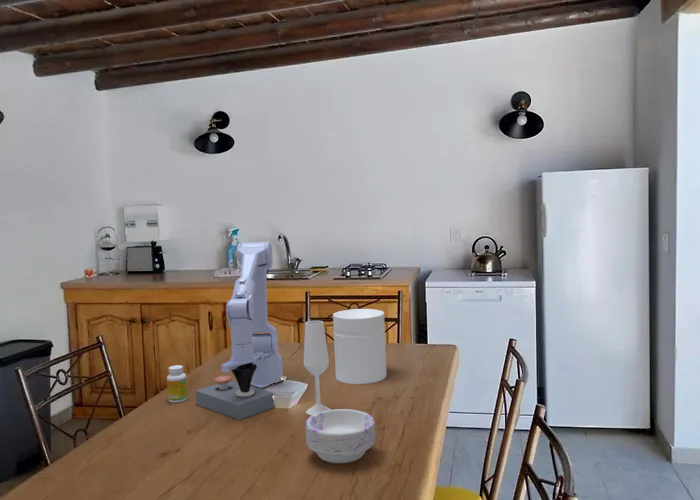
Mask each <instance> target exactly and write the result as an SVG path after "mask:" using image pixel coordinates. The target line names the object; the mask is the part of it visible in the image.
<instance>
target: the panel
mask: <svg viewBox="0 0 700 500" xmlns="http://www.w3.org/2000/svg"><path fill="white" fill-rule="evenodd" d="M228 383H229V390H225V391H219V385H218V383H216V384H213V385H210V386H206V387H203V388H200V389H197V390H195V400H196V401H195V402H196V403H195V404H196V405H197V406H200V407H201V408H204V409H208V410H211V411H212V412H213V411H214V412H216V413H219V414H220V415H225V416H227V417H231V418H232V419H235V420H238V421H240V420H243V419H246V418H248V417H251V416H254V415H255V416H256V415H257V414H259V413H263V412H265V411H268V410H271V409H274V408H275V407H276V404H275V405H274V400H273V398H272V396H273V394H274V395H275V392H272V391H270V392H269V390H266V391H265V389H264V388H259V387H256V386H253V385H251V386H250V389H253V390H254V395H252V396H250V397H247V398H240V397H238V396H236V391H238V390H240V387H239V384H238V382H237V380H236V381H235V380H232V381H230V382H228Z"/></svg>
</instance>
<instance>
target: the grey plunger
mask: <svg viewBox="0 0 700 500" xmlns="http://www.w3.org/2000/svg"><path fill="white" fill-rule="evenodd" d="M252 395H254V390H253V389H250V391H249V392H241V390H238V391H236V396H238V397H240V398H247V397H250V396H252Z"/></svg>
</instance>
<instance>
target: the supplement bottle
mask: <svg viewBox="0 0 700 500" xmlns="http://www.w3.org/2000/svg"><path fill="white" fill-rule="evenodd" d="M168 373H169V374H168V375H167V376H166V384H167V385H166V387H167V396H168V397H167V398H168V402H170V403H176V404H177V403H181V402H184V401H186V400H188V384H187V383H188V381H187V375H186V373H185V372H184V366H183V365H180V364H177V365H171V366H169V367H168Z"/></svg>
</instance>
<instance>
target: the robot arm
mask: <svg viewBox="0 0 700 500" xmlns="http://www.w3.org/2000/svg"><path fill="white" fill-rule="evenodd" d="M272 247H273V246H272V243H271V242H270V241H259V242H258V241H257V242H241V241H239V243H238V244H237V246H236V259H237V262H239V263H238V264H239V265H241V267H240V275H239V276H240V277H239V278H237V279H236V280H235V282H234V287H233V291H232V294H231V299H230V300H227V302H226V317H227V320H228V321H227V322H228V326H229V329H230V341H231V342H230V343H231V357H230V359H229V360H228V361H226V362H224V363H222V364H221V369H220V370H221V373H222V372H223V373H229V372H230V371H231V373H232V374H233V376H234V377H235V379H236V382H238V384H239V387H240V390H241V392H249V391H250V386H253V387H256V388H259V389H264V388H266V387H269V386H271V385H270V384H272V383H274V382H276V381H277V380H279V379H280V377H282V376H283V377H284V374H283V371H284V370H283V360H282V356H281V355H280V354H279V352H278V349H279V337H278V329H277V328H276V327H275V326H274V325H273V324H271V323H269V321H268V318H269V317H268V297H267V296H268V295H267V294H268V292H267V291H268V290H267V286H268V285H267V272H268V270H269V269H272V267H273V262H274V261H273V248H272ZM268 385H269V386H268ZM272 385H273V384H272Z"/></svg>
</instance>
